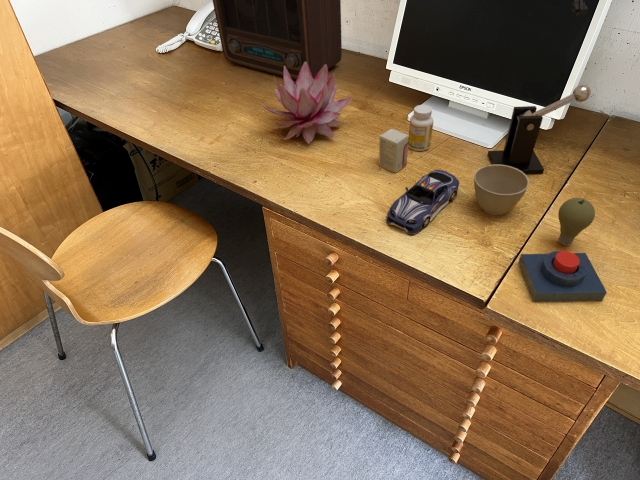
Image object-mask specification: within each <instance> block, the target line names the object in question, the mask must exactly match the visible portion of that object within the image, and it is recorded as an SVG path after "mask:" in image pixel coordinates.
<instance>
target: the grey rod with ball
mask: <svg viewBox="0 0 640 480" xmlns="http://www.w3.org/2000/svg"><path fill="white" fill-rule="evenodd" d="M591 94H592V90H591V88H590V86H589V85H587V84H580V85H577V86H576V87H575V88H574V89H573V91H572V93H571V94H570V95H567V96H565V97H563V98H561V99H559V100H557V101H555V102H553V103H550V104H548V105H547V106H544V107H543V108H540V109H538V110H536V112H534V113H531V111H530V110H528V111H526V112H524V113H522V114H520V115H518V116H516V117H517V119H518V120H519V116H540V115H541V116H542V117H543V116H546V115H547V114H550V113H552V112H555V111H556V110H558V109H560V108H562V107H564V106H567V105H568V104H571V103H573V102H575V101H576V102H579V103H581V102H585V101H587V100H588V99H589V98H590V97H591Z"/></svg>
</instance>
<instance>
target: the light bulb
mask: <svg viewBox="0 0 640 480" xmlns="http://www.w3.org/2000/svg"><path fill="white" fill-rule="evenodd" d="M557 216H558V217H557V218H558V221H559V225H560V227H559V230H560V231H559V232H560V234H559V236H558V237H557V240H558V242H559V243H560V244H561V245H562V246H571V245H572V244H573V243H574V240H575V238H576V237H578V236H579V235H580V234H581V232H582V231H584V230H586V229H587V228H588V227H590V226H591V225H592V224H593V222H594V220H595V217H596V210H595V207H594V205H593V204H592V203H591V202H590V201H589V200H588V199H586V198H582V197H572V198H569V199H567V200H565V201H564V202H563V203H562V204H561V205H560V207H559V210H558V214H557Z"/></svg>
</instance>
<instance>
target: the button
mask: <svg viewBox="0 0 640 480" xmlns="http://www.w3.org/2000/svg"><path fill="white" fill-rule="evenodd" d="M560 251H561V252H559V253H557V254H556V256H555V259H554V261H553V266H554V268H555V269H556V270H557V271H559V272H561V273H564V274H572V273H574V272H575V271H576V270H577V267H578V265H579V263H580V260H579V258H578V257H577V256H576V255H575V254H573V253H574V252H571V251H567V250H560Z"/></svg>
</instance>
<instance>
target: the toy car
mask: <svg viewBox="0 0 640 480" xmlns="http://www.w3.org/2000/svg"><path fill="white" fill-rule="evenodd" d="M459 185H460V180H459V179H458V178H457V177H456V176H455V175H454V174H452V173H450V172H449V171H445V170H442V169H434V170H432V171H430V172H428V173H427V174H425V175H423V176H421V178H419V180H418V181H416V182H415V183H414V184H413V185H412V186H411V187H410V188H408V187H407V186H405V192H404V193H403V194H402V195H400V196H399V197H398V198H397V199H396V200H394V201H393V202H392V203H391V205H390V208H389V209H388V211H387V214H386V219H385V220H386V221H385V222H386V224H387V225H393V226H395V227H398V229H399V228H400V229H401V230H403V231H405V232H406V233H407V234H408V235H415V234H418V233H420V232H421V231H422V229H426V227H428V225H429V223H431V221H432V220H434V218H435V217H436V216H437V214H438V213H439V212H440V211H441V210H443V208H445V207H446V206H447V205H448V204H449V203H451V202H453V201H454V200H455V198H456V196H457V195H458V191H459Z"/></svg>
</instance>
